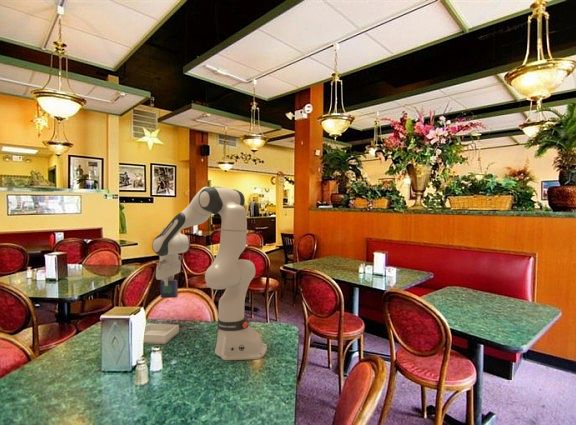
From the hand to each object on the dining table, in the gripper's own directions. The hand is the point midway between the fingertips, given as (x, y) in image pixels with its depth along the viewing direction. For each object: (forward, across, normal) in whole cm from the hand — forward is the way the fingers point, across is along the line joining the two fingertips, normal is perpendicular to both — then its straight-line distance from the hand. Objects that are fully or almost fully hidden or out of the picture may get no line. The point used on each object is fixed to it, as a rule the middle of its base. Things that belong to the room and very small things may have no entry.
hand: (168, 284), depth 166 cm
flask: (+7, 0, 0) cm, 7 cm away
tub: (+22, -14, -1) cm, 26 cm away
